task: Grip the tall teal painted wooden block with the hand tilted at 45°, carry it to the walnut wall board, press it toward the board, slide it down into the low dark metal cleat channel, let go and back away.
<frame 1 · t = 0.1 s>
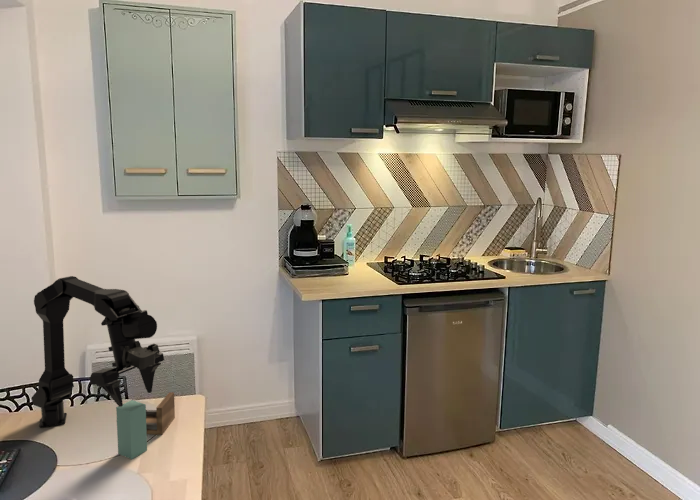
hand: (135, 399, 139), 15 cm above the table, tool pointing down, fingers open, 9 cm apart
teal block: (132, 452, 142), on the table
wall board cradle: (152, 425, 156), on the table
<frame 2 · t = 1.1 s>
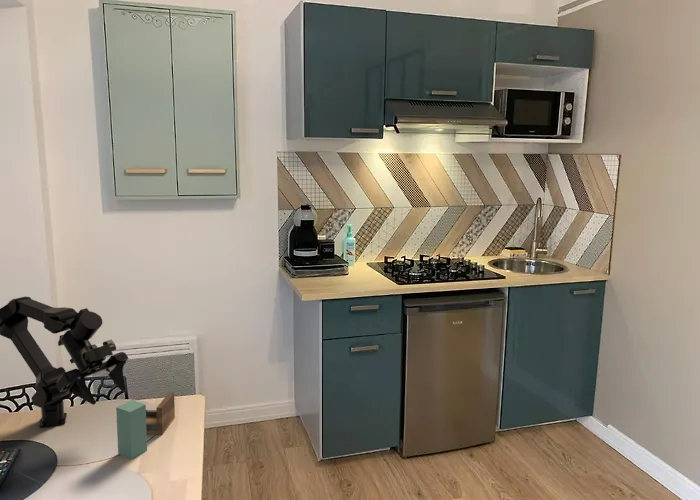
hand: (109, 397, 144), 13 cm above the table, tool tilted 45°, fingers open, 9 cm apart
nothing on the table moved.
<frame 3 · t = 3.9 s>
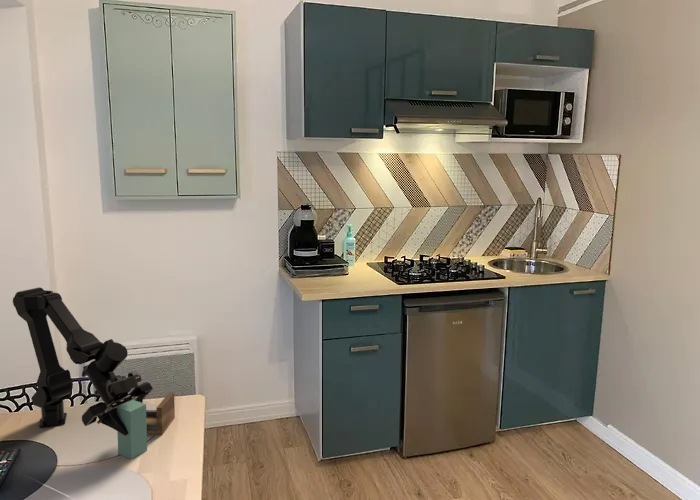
hand: (135, 430, 141), 7 cm above the table, tool tilted 45°, fingers closed on teal block, 5 cm apart
teal block: (132, 451, 142), on the table, touching gripper
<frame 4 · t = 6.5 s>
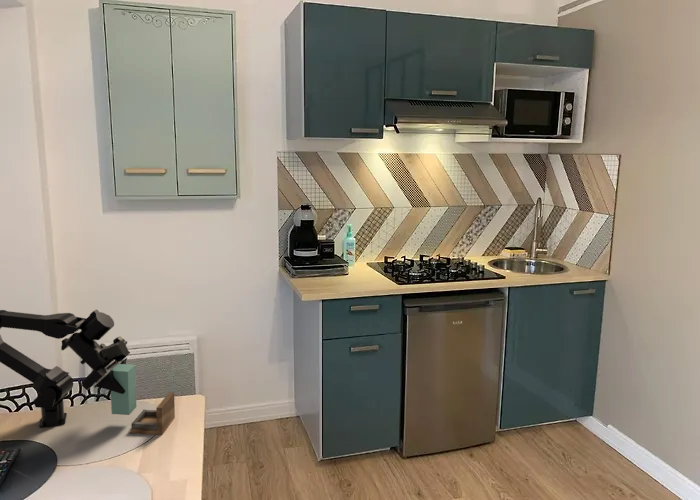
hand: (128, 388, 155), 11 cm above the table, tool tilted 45°, fingers closed on teal block, 5 cm apart
teal block: (124, 410, 156), point 4 cm above the table, touching gripper
when the fingers open (8 cm above the table, at t = 9.5 s): teal block stays where it is, resting on wall board cradle.
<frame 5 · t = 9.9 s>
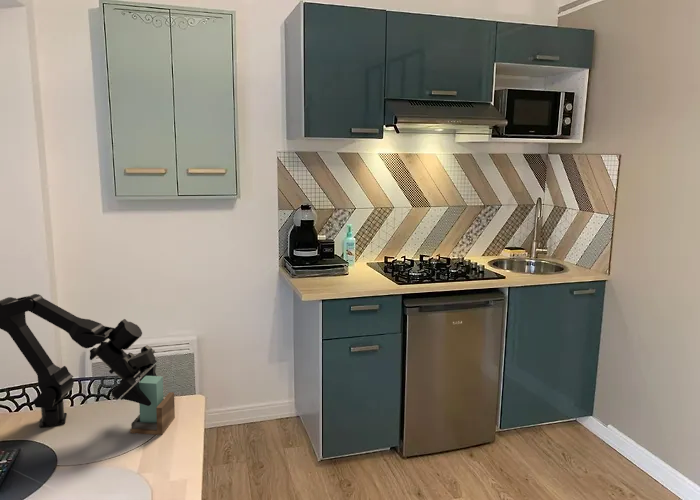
hand: (156, 397, 155), 9 cm above the table, tool tilted 45°, fingers open, 9 cm apart
teal block: (152, 422, 156), point 1 cm above the table, touching wall board cradle
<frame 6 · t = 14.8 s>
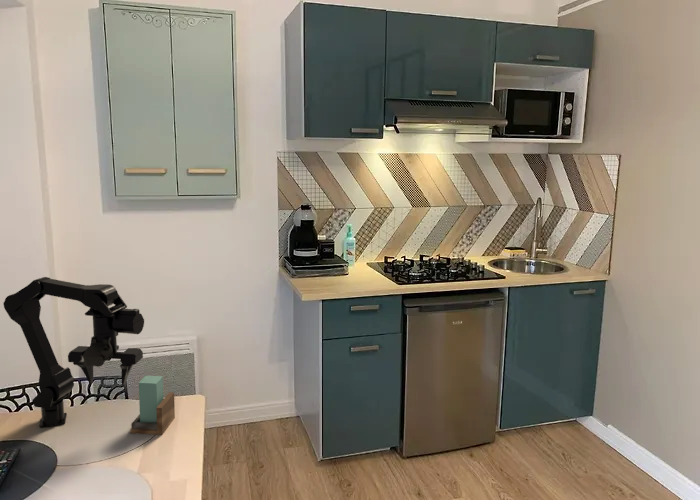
hand: (107, 384, 152), 13 cm above the table, tool pointing down, fingers open, 9 cm apart
nothing on the table moved.
at the end: teal block 0.0 cm off-centre on the wall board cradle, point 1.0 cm above the wall board cradle's base; teal block tilted 0°; the gripper is holding nothing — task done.
